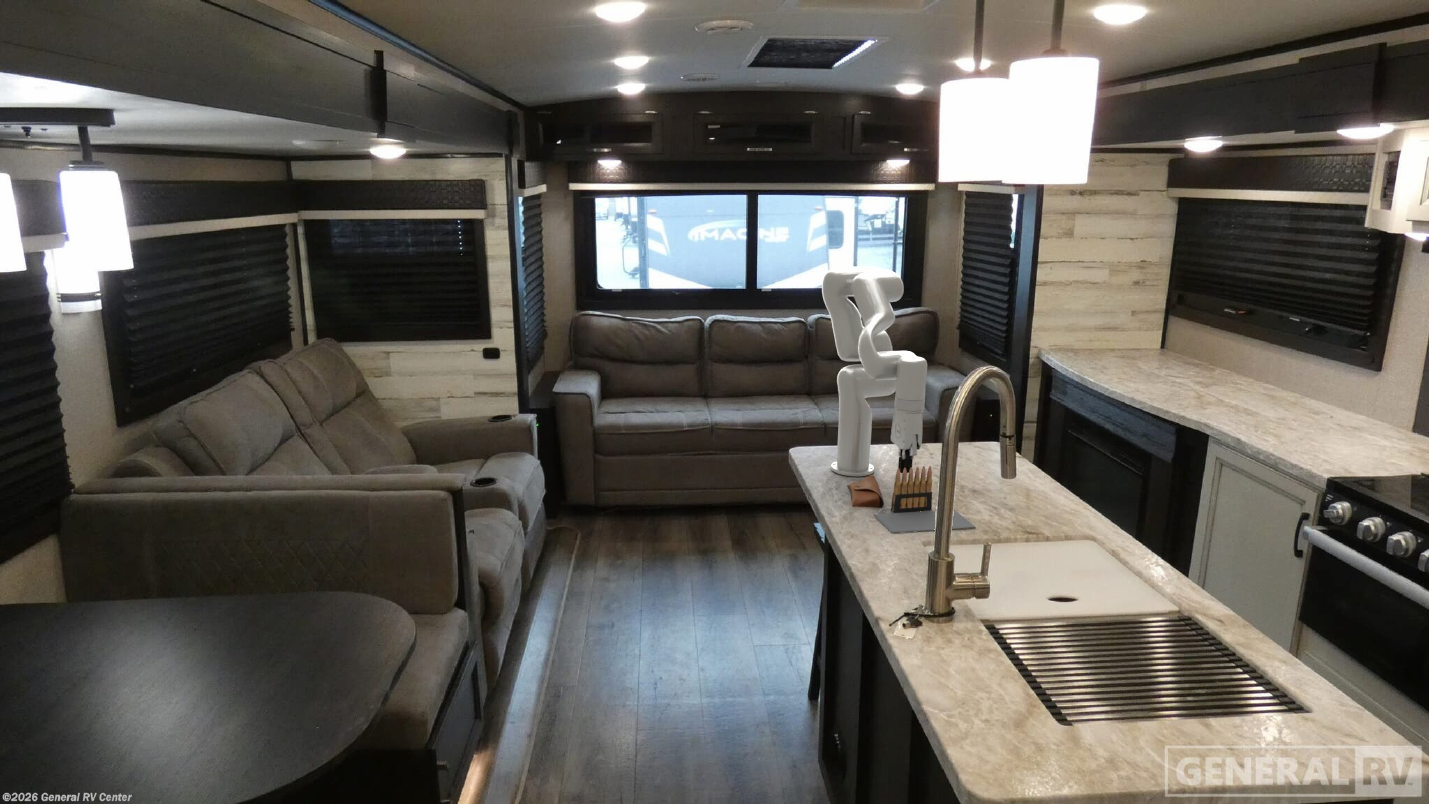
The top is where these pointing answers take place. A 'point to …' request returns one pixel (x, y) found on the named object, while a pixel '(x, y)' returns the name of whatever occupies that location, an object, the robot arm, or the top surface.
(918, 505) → the ammunition clip
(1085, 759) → the top surface
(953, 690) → the top surface
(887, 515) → the rubber mat
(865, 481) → the sunglasses case
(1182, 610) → the top surface
